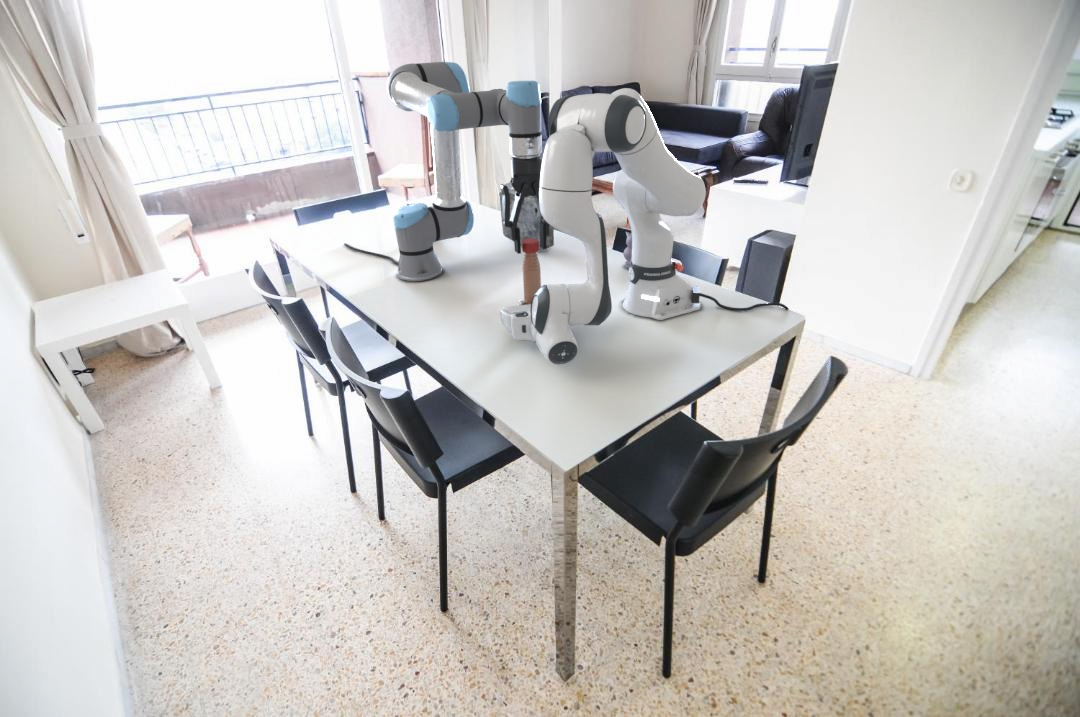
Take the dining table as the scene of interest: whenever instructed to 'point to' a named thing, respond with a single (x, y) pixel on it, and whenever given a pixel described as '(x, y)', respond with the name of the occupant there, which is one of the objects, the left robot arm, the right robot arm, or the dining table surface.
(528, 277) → the bottle
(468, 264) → the dining table surface
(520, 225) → the concrete block
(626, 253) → the cat figurine
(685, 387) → the dining table surface
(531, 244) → the cap
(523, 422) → the dining table surface
